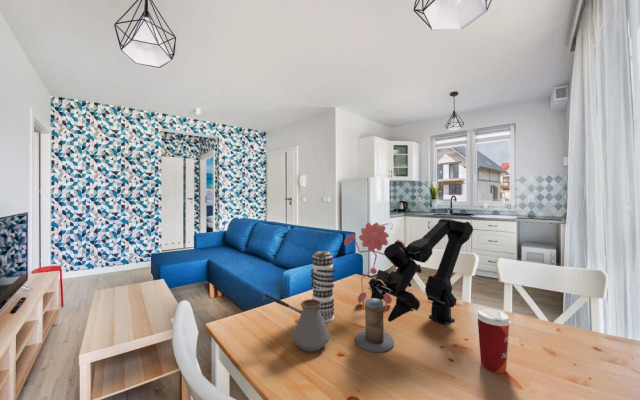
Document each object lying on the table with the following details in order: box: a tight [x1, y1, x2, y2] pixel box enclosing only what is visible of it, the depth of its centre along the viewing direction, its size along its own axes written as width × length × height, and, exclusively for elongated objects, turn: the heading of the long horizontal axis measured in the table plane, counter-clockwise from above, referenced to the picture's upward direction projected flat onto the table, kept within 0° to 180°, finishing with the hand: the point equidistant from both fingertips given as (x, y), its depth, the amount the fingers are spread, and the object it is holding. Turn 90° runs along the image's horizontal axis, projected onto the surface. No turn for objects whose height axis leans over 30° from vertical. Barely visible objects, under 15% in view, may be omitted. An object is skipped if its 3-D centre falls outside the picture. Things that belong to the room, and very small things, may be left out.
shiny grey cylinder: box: [364, 297, 384, 344], centre depth 83 cm, size 6×6×12 cm
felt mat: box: [354, 330, 395, 354], centre depth 83 cm, size 12×12×1 cm
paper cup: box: [475, 308, 511, 374], centre depth 70 cm, size 8×8×14 cm
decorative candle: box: [310, 250, 336, 324], centre depth 100 cm, size 9×9×25 cm
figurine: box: [343, 222, 407, 311], centre depth 114 cm, size 15×26×35 cm, turn 80°
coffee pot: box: [262, 293, 330, 353], centre depth 82 cm, size 21×12×15 cm, turn 81°
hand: (378, 315), depth 84 cm, fingers open, 9 cm apart
